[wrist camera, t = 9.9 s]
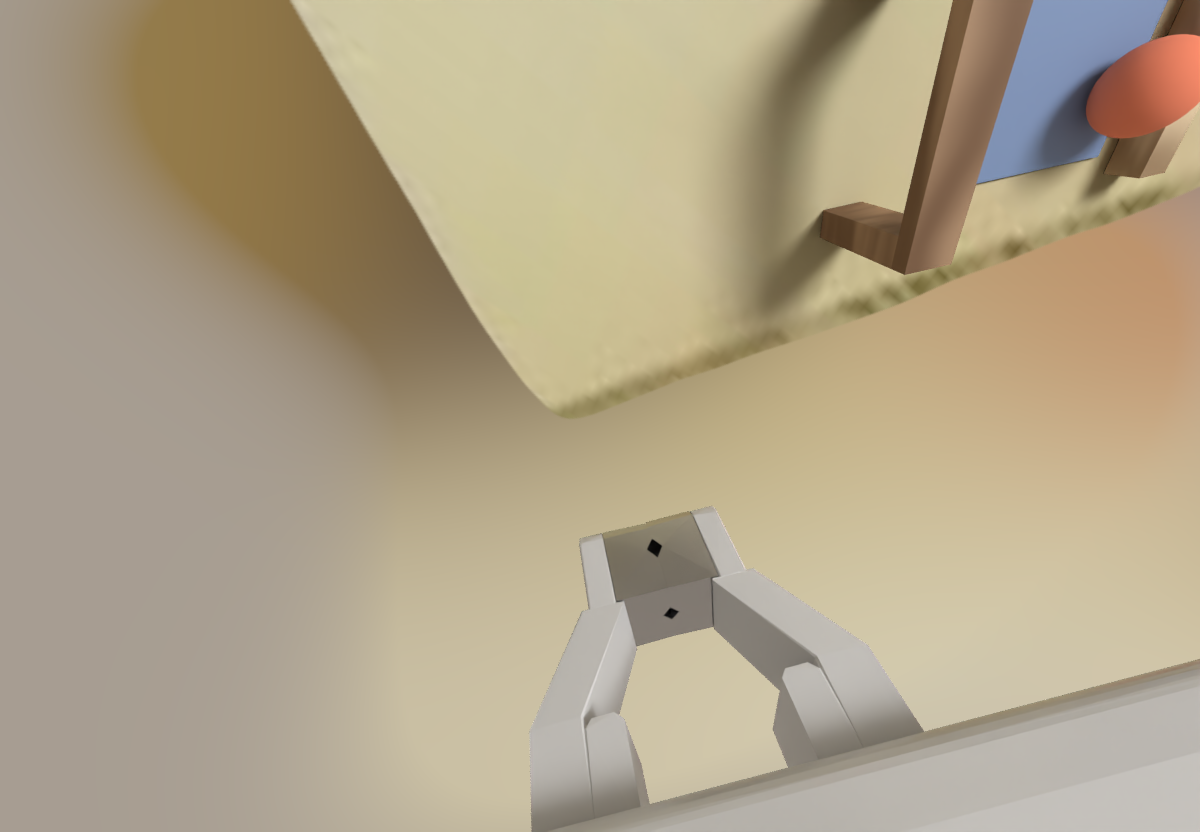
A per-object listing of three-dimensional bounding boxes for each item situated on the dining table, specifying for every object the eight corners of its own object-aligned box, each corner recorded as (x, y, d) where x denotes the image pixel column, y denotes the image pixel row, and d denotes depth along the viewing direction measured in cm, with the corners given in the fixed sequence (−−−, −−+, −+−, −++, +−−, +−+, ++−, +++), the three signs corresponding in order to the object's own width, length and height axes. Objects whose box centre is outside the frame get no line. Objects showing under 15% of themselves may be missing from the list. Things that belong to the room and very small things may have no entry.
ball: (1099, 51, 28) (1233, 40, 24) (1128, 31, 30) (1257, 18, 26) (1056, 148, 32) (1168, 151, 28) (1085, 124, 34) (1193, 124, 30)
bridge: (820, 237, 34) (904, 274, 27) (857, -56, 25) (1004, -123, 17) (856, 229, 34) (951, 264, 27) (908, -66, 25) (1076, -137, 17)
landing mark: (999, -49, 26) (1002, -50, 26) (1205, -92, 26) (1209, -93, 26) (935, 191, 34) (937, 192, 33) (1095, 156, 34) (1098, 156, 34)
